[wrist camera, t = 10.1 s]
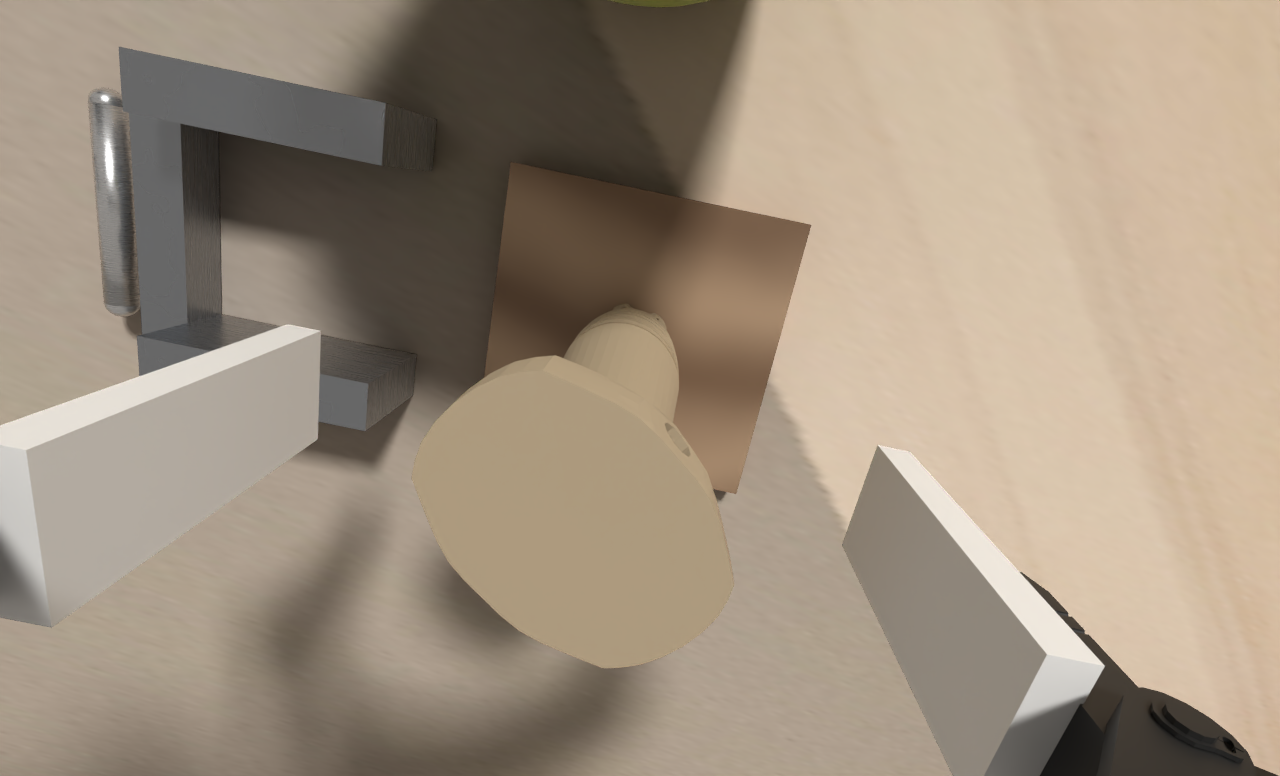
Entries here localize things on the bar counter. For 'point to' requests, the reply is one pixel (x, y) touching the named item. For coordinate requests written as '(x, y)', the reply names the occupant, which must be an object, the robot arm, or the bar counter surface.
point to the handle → (581, 497)
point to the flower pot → (659, 2)
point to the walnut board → (651, 292)
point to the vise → (190, 209)
